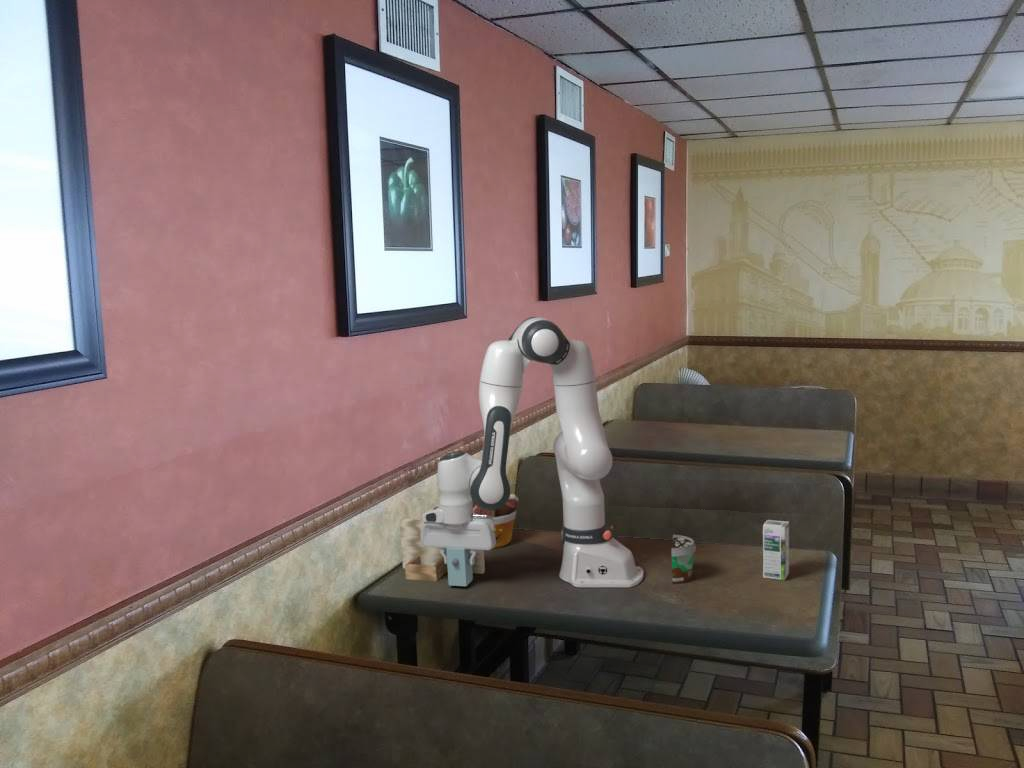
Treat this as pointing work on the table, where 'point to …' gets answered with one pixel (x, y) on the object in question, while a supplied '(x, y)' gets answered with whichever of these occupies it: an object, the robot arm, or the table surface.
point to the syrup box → (776, 549)
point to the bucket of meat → (502, 520)
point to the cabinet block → (459, 567)
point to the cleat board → (426, 555)
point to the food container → (682, 559)
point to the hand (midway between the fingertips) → (459, 563)
